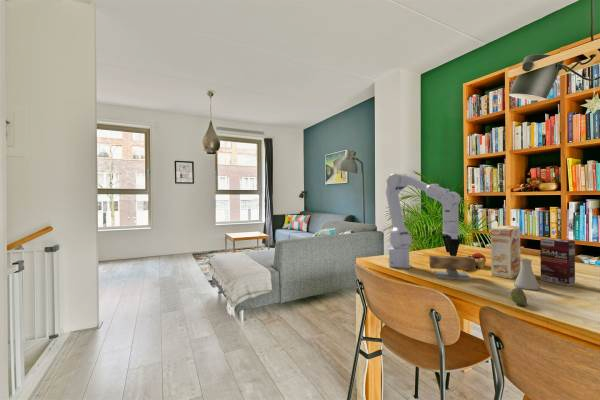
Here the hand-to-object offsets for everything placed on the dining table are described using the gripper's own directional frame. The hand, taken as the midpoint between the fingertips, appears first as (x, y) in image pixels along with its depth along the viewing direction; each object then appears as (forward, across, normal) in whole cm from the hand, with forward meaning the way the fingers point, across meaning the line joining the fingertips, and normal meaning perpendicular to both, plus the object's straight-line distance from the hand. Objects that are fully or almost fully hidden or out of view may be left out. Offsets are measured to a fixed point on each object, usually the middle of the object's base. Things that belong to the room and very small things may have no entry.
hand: (451, 254), depth 113 cm
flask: (+9, -9, -22) cm, 26 cm away
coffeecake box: (+9, +9, -22) cm, 26 cm away
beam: (+6, 0, 0) cm, 6 cm away
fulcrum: (+9, 0, 0) cm, 9 cm away
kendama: (+10, +17, -12) cm, 23 cm away
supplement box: (+9, 0, -35) cm, 36 cm away
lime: (+9, -28, -13) cm, 32 cm away
